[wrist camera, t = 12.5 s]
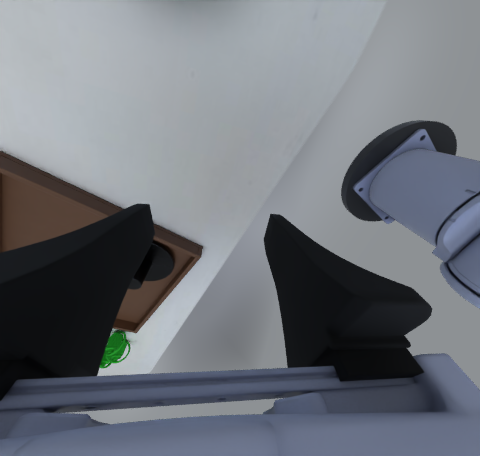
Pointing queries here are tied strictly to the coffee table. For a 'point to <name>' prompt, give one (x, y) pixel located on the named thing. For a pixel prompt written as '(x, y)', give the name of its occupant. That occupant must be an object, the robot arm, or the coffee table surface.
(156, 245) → the lid
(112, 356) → the chandelier
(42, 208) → the tray
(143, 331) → the coffee table surface
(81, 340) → the robot arm
